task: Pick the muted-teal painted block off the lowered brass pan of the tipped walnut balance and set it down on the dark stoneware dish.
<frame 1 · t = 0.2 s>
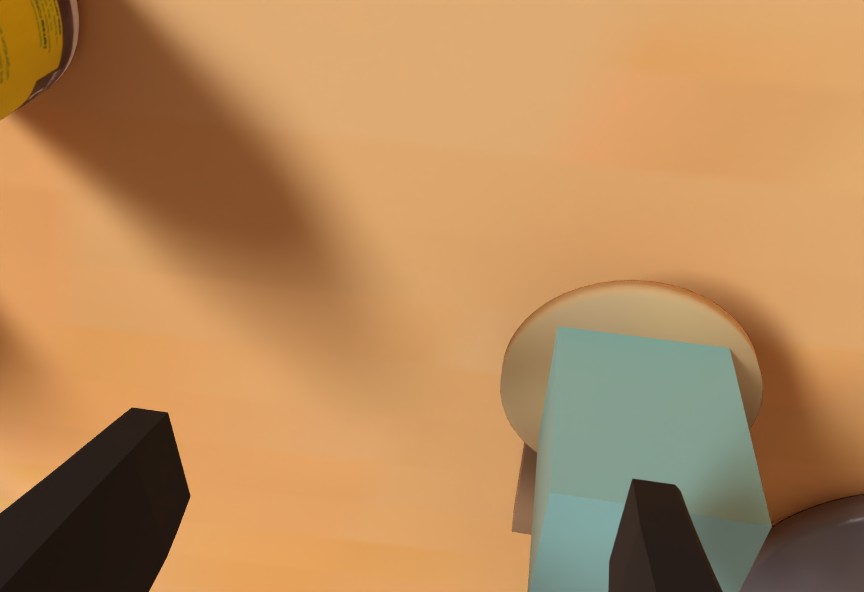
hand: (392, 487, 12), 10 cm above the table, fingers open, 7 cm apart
block: (626, 397, 19), point 3 cm above the table, touching balance
balance: (588, 462, 25), on the table
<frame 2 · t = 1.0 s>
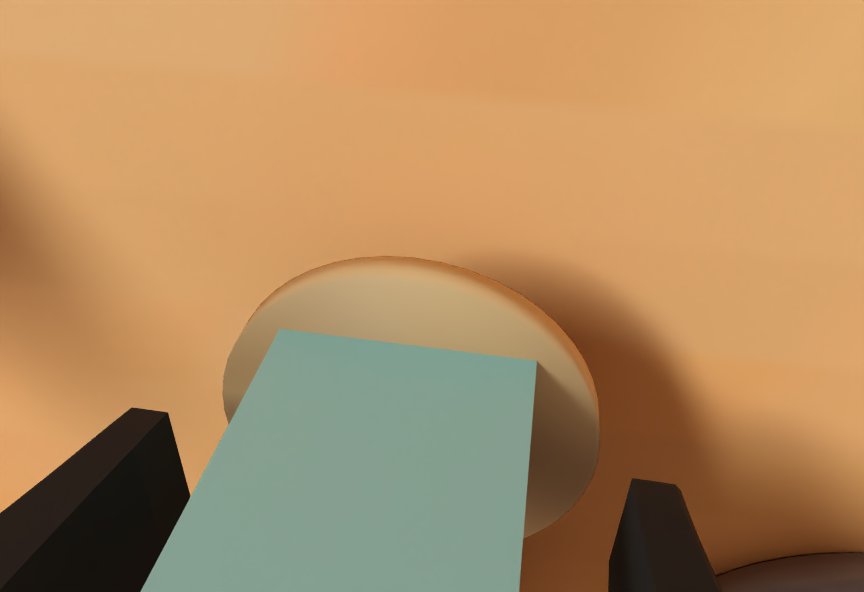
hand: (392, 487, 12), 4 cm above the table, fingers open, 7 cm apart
block: (405, 434, 13), point 3 cm above the table, touching balance
balance: (428, 512, 18), on the table
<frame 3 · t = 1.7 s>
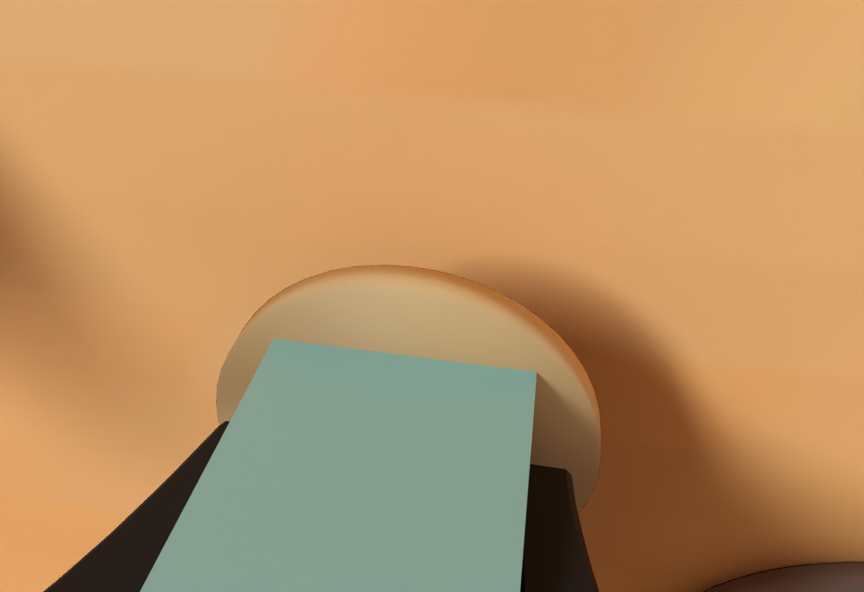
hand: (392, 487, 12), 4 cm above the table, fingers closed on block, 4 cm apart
block: (402, 446, 12), point 3 cm above the table, touching balance, gripper
balance: (427, 520, 18), on the table
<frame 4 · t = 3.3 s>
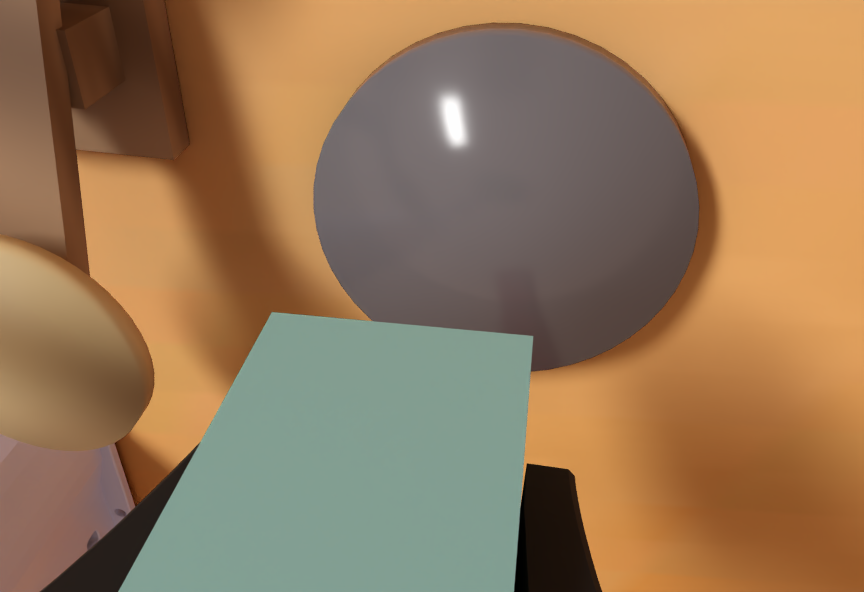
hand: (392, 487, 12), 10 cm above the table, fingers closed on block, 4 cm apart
block: (403, 418, 12), point 9 cm above the table, touching gripper
dish: (501, 210, 20), on the table
balance: (89, 28, 19), on the table
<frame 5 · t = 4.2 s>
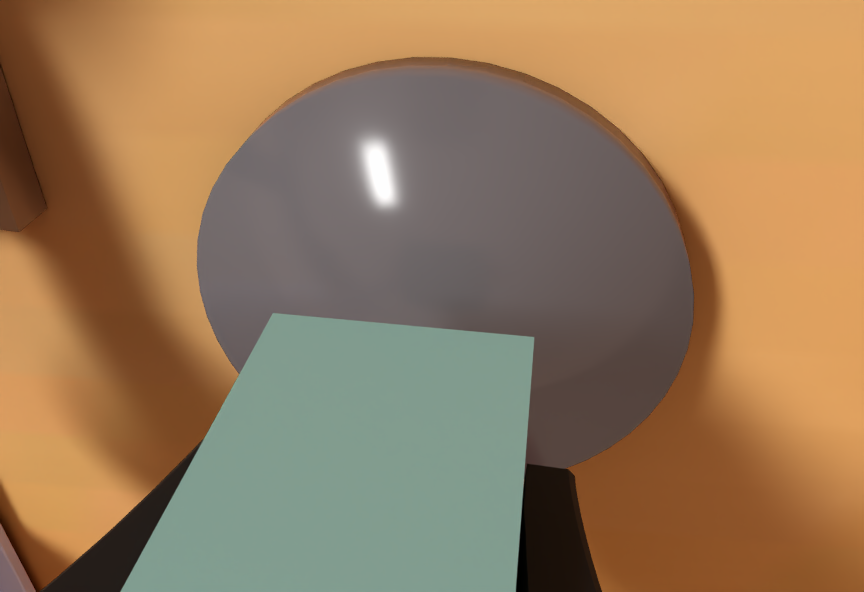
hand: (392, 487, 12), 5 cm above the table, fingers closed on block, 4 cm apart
block: (404, 419, 12), point 4 cm above the table, touching gripper
dish: (441, 290, 16), on the table
when the fingers open (4 cm above the table, at t = 4.9 s): block drops 1 cm, resting on dish.
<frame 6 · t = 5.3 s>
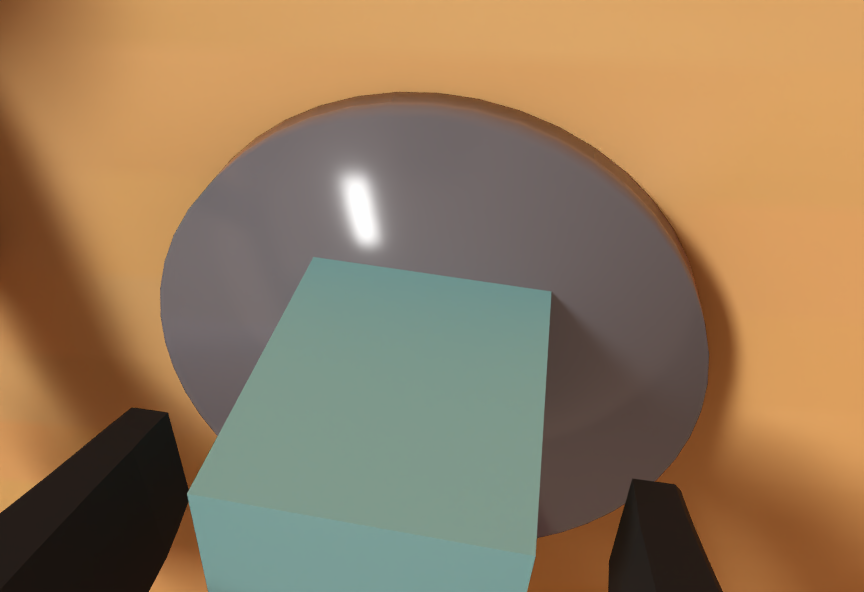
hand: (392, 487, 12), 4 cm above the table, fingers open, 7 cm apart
block: (424, 363, 13), point 1 cm above the table, touching dish
dish: (430, 340, 14), on the table
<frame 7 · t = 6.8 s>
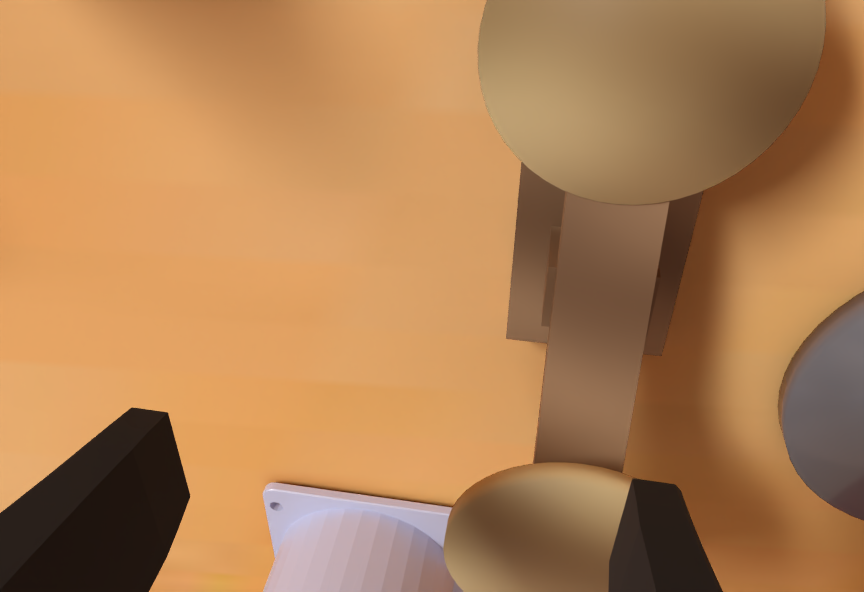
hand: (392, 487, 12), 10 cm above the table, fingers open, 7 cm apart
balance: (597, 240, 20), on the table
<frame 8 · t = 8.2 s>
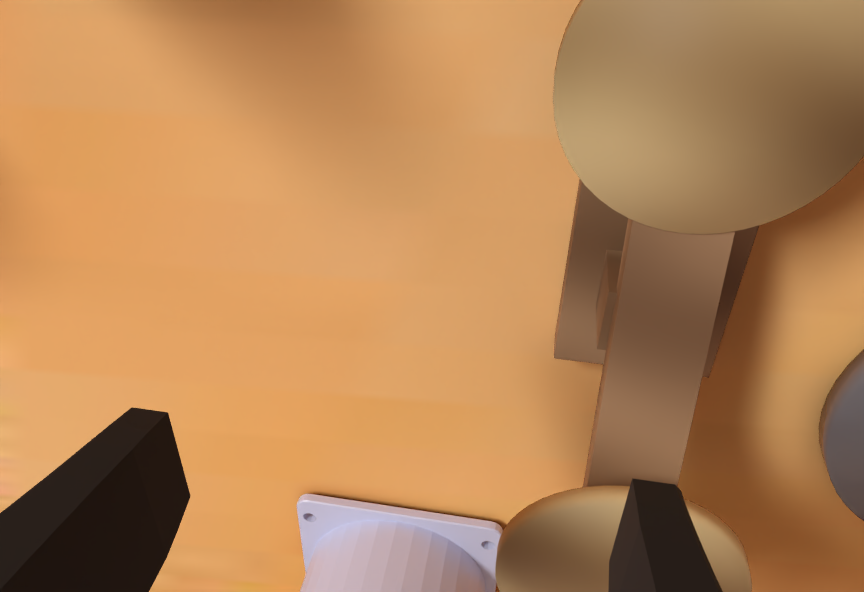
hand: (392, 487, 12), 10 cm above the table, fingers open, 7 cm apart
balance: (648, 262, 20), on the table
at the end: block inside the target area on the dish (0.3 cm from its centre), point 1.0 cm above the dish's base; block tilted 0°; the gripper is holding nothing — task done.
